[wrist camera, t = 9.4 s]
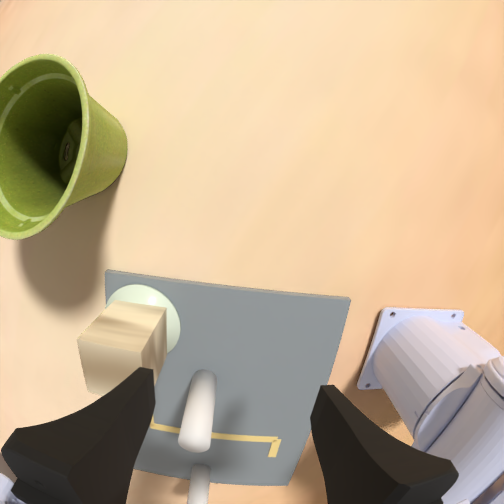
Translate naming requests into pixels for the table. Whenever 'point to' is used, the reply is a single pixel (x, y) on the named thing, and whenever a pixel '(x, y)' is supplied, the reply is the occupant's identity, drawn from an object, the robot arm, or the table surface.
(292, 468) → the board
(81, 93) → the plant pot
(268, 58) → the table surface
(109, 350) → the block
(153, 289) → the pad
